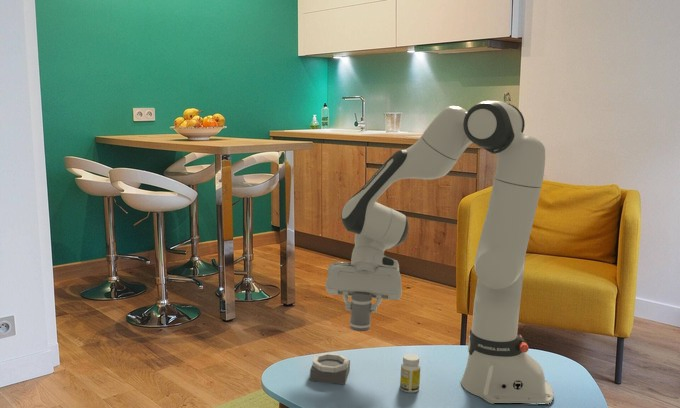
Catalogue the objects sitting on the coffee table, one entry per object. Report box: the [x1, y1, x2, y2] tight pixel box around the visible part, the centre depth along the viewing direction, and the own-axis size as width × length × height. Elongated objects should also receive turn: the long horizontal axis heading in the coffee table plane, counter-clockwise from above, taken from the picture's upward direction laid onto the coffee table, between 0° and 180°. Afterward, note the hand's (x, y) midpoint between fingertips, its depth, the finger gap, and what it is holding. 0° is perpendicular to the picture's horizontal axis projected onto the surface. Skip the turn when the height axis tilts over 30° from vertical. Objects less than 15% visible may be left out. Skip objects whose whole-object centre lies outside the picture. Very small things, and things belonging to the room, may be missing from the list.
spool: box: [349, 292, 373, 332], centre depth 164 cm, size 5×5×9 cm
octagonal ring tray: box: [309, 352, 351, 385], centre depth 162 cm, size 9×9×4 cm
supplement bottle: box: [399, 353, 421, 394], centre depth 156 cm, size 5×5×8 cm
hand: (360, 310), depth 163 cm, fingers closed on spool, 5 cm apart
